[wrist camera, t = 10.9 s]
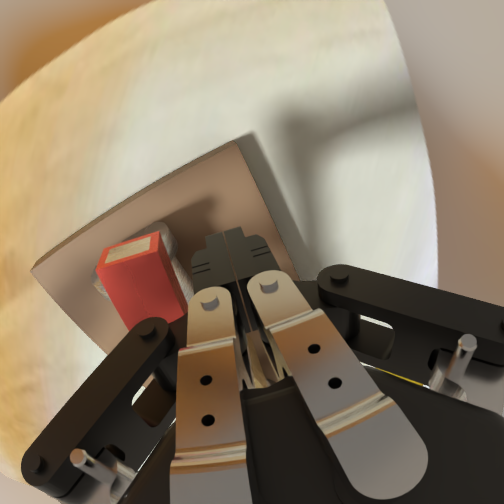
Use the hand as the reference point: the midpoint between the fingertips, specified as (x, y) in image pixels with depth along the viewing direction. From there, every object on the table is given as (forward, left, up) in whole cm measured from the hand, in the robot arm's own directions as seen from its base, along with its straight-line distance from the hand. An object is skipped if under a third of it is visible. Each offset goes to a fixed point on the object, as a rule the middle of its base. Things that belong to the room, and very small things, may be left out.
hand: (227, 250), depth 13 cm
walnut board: (-10, +6, -9) cm, 14 cm away
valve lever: (-4, +4, +1) cm, 6 cm away
